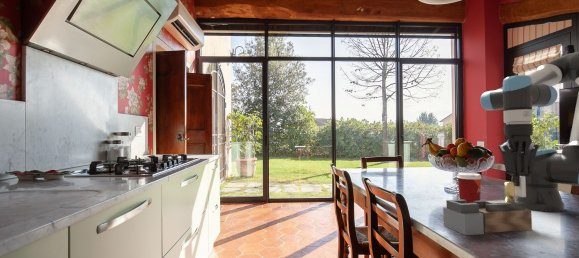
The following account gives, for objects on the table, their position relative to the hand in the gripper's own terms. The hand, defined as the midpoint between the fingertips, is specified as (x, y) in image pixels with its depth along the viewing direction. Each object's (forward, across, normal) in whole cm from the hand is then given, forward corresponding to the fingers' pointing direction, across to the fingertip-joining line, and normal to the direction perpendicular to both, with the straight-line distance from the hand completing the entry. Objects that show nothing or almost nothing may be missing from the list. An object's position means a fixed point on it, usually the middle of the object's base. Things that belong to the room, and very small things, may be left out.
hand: (520, 196), depth 97 cm
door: (+10, -8, 0) cm, 13 cm away
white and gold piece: (+3, -7, 0) cm, 7 cm away
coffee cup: (+10, -5, +16) cm, 20 cm away
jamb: (+10, -21, 0) cm, 23 cm away
